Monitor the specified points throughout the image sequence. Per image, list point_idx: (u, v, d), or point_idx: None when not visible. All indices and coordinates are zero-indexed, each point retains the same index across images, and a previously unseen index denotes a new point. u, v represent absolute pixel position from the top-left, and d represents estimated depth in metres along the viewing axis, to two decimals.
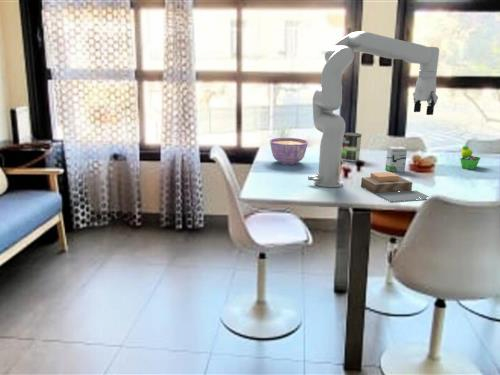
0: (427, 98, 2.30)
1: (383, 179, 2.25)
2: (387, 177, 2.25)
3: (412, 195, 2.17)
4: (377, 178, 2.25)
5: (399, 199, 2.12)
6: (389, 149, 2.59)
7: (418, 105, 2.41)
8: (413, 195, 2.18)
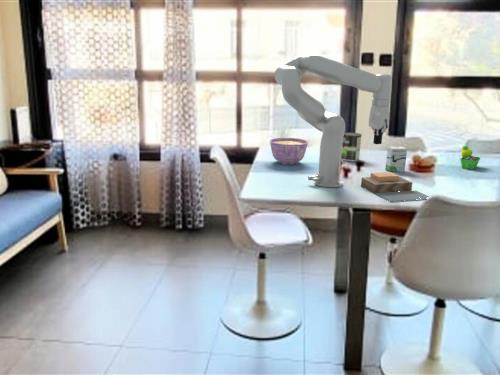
0: (380, 126, 2.26)
1: (383, 179, 2.25)
2: (387, 177, 2.25)
3: (412, 195, 2.17)
4: (377, 178, 2.25)
5: (399, 199, 2.12)
6: (389, 149, 2.59)
7: None
8: (413, 195, 2.18)
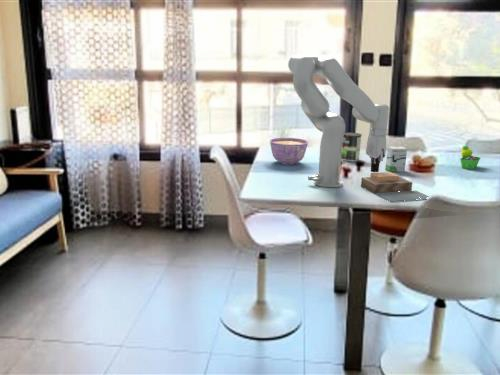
0: (377, 155, 2.30)
1: (383, 179, 2.25)
2: (387, 177, 2.25)
3: (412, 195, 2.17)
4: (377, 178, 2.25)
5: (399, 199, 2.12)
6: (389, 149, 2.59)
7: None
8: (413, 195, 2.18)
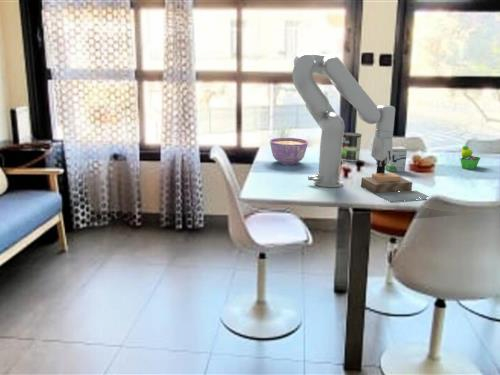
0: (383, 158, 2.25)
1: (385, 180, 2.24)
2: (389, 178, 2.24)
3: (412, 195, 2.17)
4: (378, 178, 2.24)
5: (399, 199, 2.12)
6: None
7: None
8: (413, 195, 2.18)
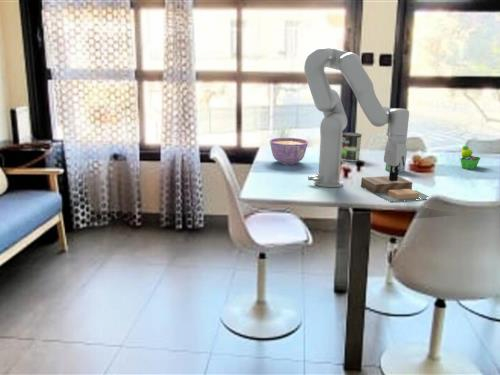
0: (397, 164, 2.15)
1: None
2: None
3: None
4: (389, 193, 2.17)
5: (399, 199, 2.12)
6: None
7: None
8: None
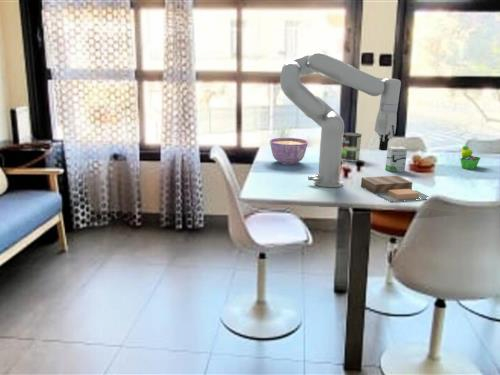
0: (387, 132, 2.20)
1: None
2: None
3: None
4: (389, 193, 2.17)
5: (399, 199, 2.12)
6: (389, 149, 2.59)
7: None
8: None
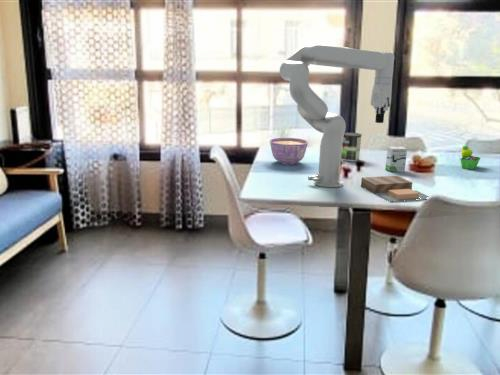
0: (382, 104, 2.27)
1: None
2: None
3: None
4: (389, 193, 2.17)
5: (399, 199, 2.12)
6: (389, 149, 2.59)
7: None
8: None
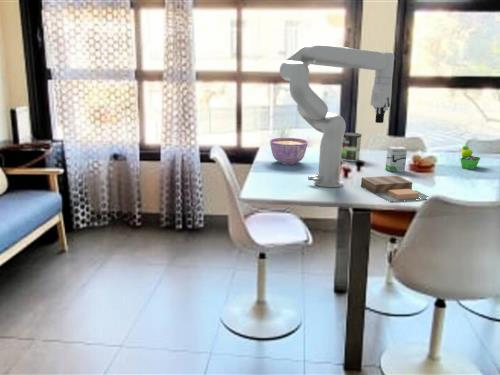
0: (382, 104, 2.27)
1: None
2: None
3: None
4: (389, 193, 2.17)
5: (399, 199, 2.12)
6: (389, 149, 2.59)
7: None
8: None
